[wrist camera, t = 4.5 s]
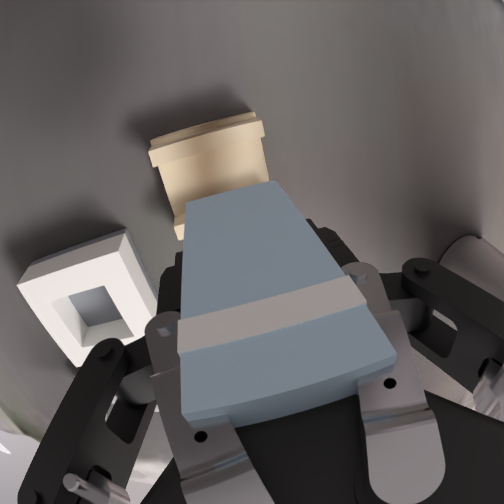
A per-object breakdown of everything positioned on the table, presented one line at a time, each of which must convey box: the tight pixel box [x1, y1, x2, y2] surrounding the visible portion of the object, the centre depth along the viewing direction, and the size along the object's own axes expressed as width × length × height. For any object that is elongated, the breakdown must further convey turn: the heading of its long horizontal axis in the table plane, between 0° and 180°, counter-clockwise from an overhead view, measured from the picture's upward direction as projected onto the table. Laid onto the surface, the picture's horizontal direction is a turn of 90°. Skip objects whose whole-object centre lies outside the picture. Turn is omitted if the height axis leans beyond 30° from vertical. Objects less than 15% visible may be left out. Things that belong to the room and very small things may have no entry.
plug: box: [177, 180, 397, 428], centre depth 10 cm, size 4×4×10 cm
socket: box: [17, 228, 158, 367], centre depth 26 cm, size 11×11×4 cm
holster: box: [148, 111, 269, 240], centre depth 23 cm, size 8×8×3 cm
